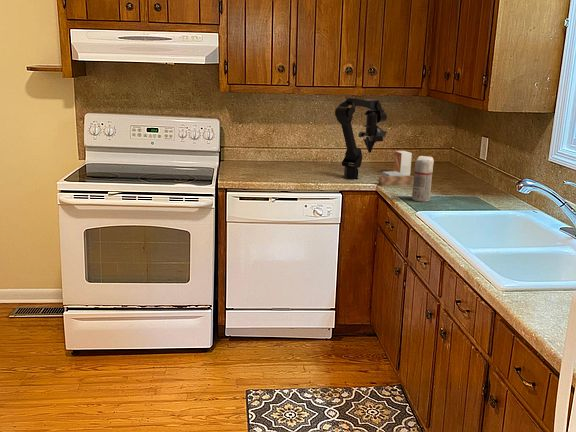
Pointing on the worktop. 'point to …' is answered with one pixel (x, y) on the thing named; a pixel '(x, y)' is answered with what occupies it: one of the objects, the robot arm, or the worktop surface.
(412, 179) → the board
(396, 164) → the small box
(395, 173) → the block
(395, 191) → the worktop surface
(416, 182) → the spray can
